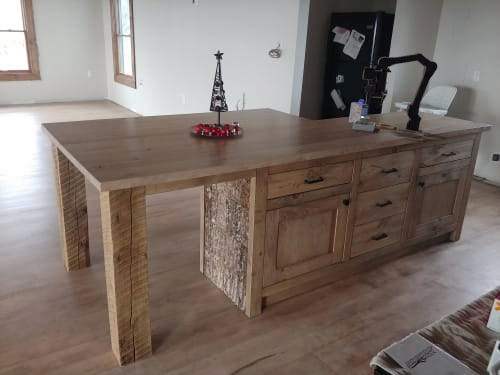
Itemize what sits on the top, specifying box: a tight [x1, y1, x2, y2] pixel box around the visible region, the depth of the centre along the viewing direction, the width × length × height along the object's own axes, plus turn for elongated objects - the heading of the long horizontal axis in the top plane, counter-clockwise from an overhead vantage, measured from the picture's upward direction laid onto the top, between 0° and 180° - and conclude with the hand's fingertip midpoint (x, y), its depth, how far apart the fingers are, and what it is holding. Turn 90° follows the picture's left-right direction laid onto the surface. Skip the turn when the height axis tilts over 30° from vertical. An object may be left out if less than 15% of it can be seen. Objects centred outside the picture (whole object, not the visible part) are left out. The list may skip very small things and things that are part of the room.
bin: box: [351, 121, 377, 134], centre depth 253 cm, size 11×11×4 cm
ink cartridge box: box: [348, 98, 369, 124], centre depth 270 cm, size 10×6×14 cm, turn 29°
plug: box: [360, 115, 371, 125], centre depth 253 cm, size 5×5×7 cm
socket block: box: [375, 122, 396, 131], centre depth 260 cm, size 10×10×2 cm
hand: (377, 108), depth 257 cm, fingers open, 9 cm apart
